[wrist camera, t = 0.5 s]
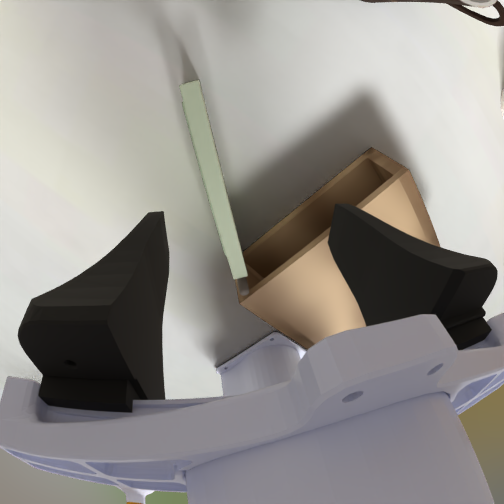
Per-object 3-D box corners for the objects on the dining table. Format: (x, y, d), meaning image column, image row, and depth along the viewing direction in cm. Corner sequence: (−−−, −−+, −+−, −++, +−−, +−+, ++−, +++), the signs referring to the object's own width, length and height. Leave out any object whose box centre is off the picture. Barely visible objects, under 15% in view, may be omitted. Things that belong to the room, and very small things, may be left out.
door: (239, 240, 24) (247, 275, 21) (225, 243, 24) (231, 280, 21) (199, 79, 17) (198, 80, 13) (181, 84, 17) (176, 86, 13)
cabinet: (307, 321, 32) (322, 359, 27) (223, 254, 25) (230, 297, 21) (418, 237, 27) (446, 266, 23) (365, 138, 21) (403, 159, 17)
